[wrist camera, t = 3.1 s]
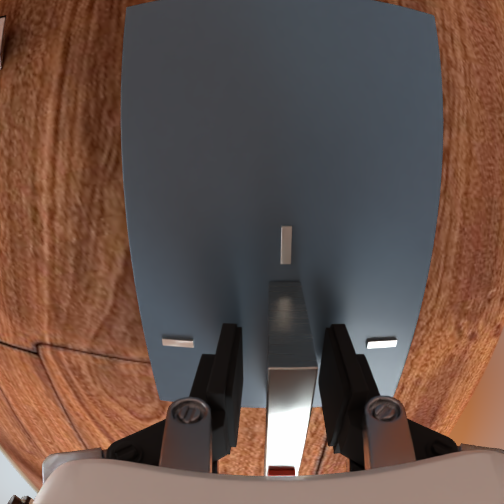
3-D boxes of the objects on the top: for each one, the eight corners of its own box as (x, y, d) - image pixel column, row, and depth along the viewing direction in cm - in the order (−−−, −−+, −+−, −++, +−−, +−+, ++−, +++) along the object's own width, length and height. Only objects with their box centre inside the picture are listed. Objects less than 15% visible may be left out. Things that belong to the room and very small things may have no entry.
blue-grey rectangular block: (151, 28, 11) (124, 5, 8) (406, 34, 11) (436, 13, 8) (176, 379, 18) (162, 416, 15) (374, 380, 17) (387, 416, 14)
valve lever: (268, 280, 12) (267, 375, 7) (300, 281, 12) (319, 374, 7) (266, 395, 14) (262, 489, 9) (291, 395, 14) (296, 489, 9)
